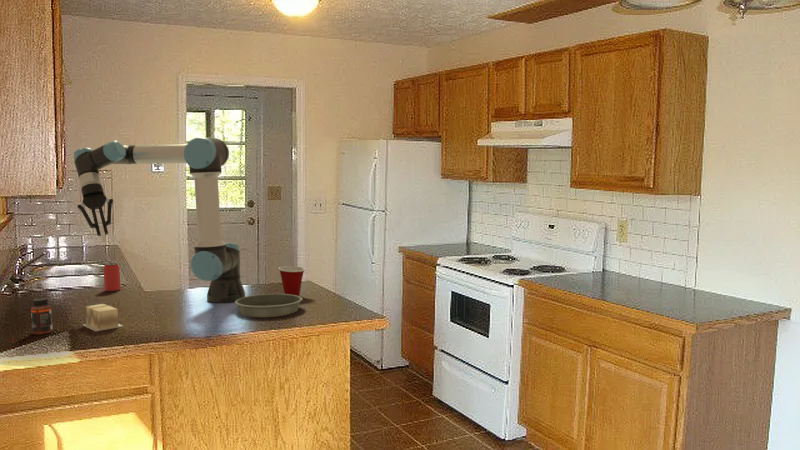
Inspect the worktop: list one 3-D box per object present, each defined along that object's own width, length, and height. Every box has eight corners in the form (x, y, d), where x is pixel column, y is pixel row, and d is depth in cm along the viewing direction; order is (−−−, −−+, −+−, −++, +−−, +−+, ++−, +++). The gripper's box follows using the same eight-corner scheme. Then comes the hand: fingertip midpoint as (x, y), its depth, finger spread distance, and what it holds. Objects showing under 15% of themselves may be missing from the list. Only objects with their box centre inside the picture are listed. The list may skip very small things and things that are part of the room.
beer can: (101, 291, 295) (99, 264, 294) (112, 288, 301) (111, 262, 300) (112, 292, 292) (111, 264, 291) (124, 289, 299) (122, 262, 297)
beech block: (85, 306, 232) (99, 311, 223) (103, 303, 236) (117, 308, 227) (86, 323, 233) (100, 329, 223) (104, 320, 237) (118, 326, 227)
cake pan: (307, 315, 242) (307, 303, 242) (237, 321, 235) (236, 308, 234) (297, 302, 265) (297, 291, 265) (233, 307, 258) (233, 295, 258)
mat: (82, 325, 231) (82, 324, 231) (109, 321, 237) (109, 319, 237) (95, 331, 222) (95, 330, 222) (122, 326, 229) (122, 325, 229)
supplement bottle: (57, 331, 224) (54, 297, 222) (42, 335, 218) (40, 301, 217) (43, 330, 225) (41, 296, 224) (28, 334, 220) (25, 300, 219)
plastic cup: (298, 299, 270) (297, 270, 269) (274, 298, 273) (273, 269, 272) (310, 294, 280) (309, 266, 279) (287, 293, 284) (286, 265, 282)
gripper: (110, 187, 264) (123, 242, 258) (74, 193, 259) (87, 250, 253) (108, 179, 258) (122, 235, 252) (71, 185, 252) (85, 243, 246)
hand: (104, 242), depth 252 cm, fingers closed
